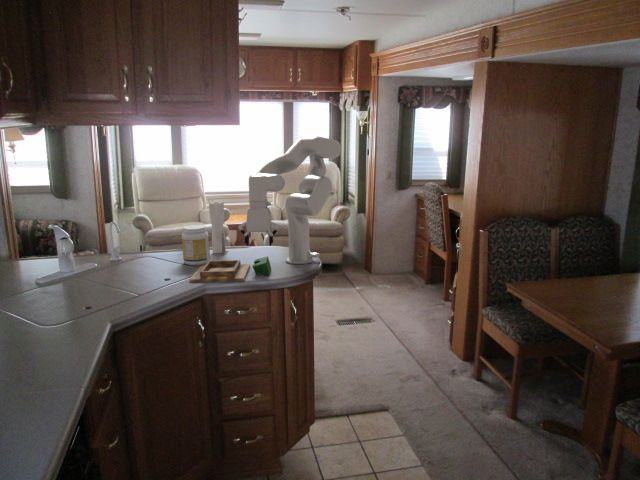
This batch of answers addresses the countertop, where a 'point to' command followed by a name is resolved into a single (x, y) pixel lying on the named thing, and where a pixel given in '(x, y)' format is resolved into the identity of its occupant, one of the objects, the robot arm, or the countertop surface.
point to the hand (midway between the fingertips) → (259, 245)
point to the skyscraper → (217, 227)
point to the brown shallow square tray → (221, 271)
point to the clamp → (262, 266)
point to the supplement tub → (195, 245)
